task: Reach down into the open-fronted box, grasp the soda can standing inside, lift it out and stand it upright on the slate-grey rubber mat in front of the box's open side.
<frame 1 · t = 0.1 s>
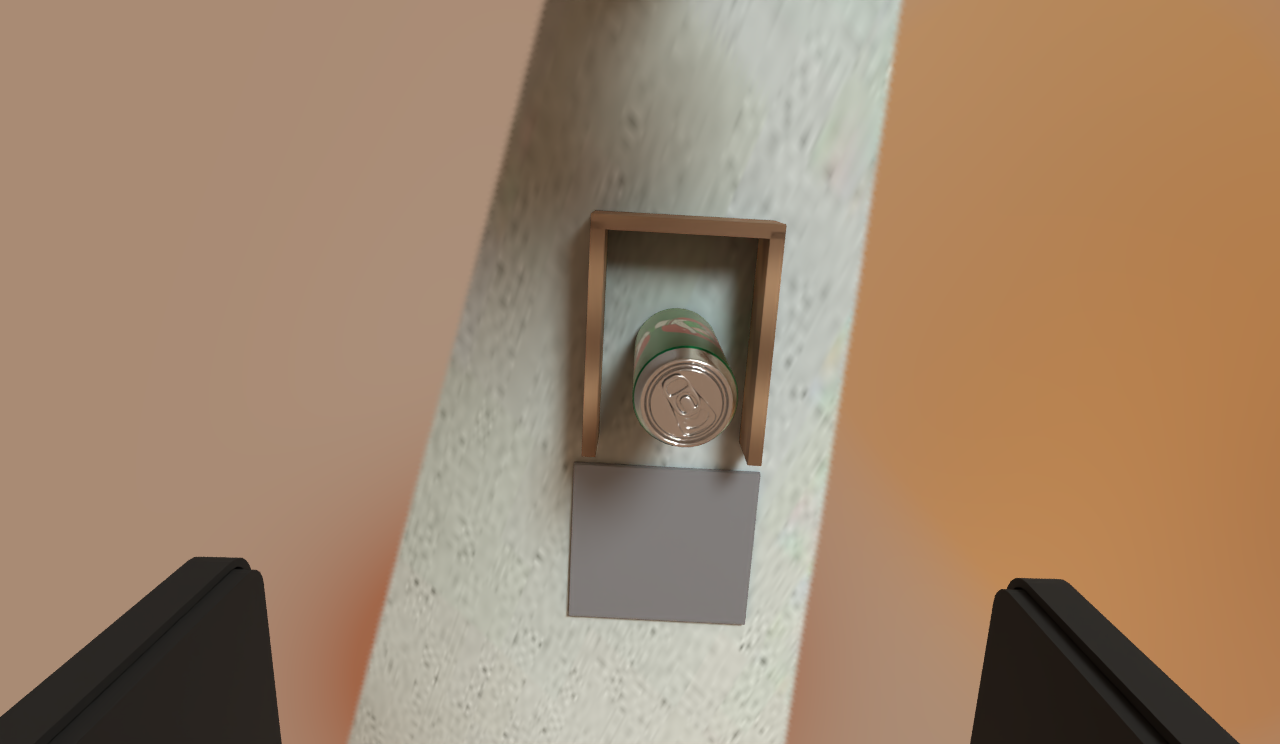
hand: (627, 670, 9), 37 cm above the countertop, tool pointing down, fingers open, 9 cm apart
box: (676, 331, 46), on the countertop
mat: (661, 544, 49), on the countertop
soda can: (675, 346, 46), resting in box
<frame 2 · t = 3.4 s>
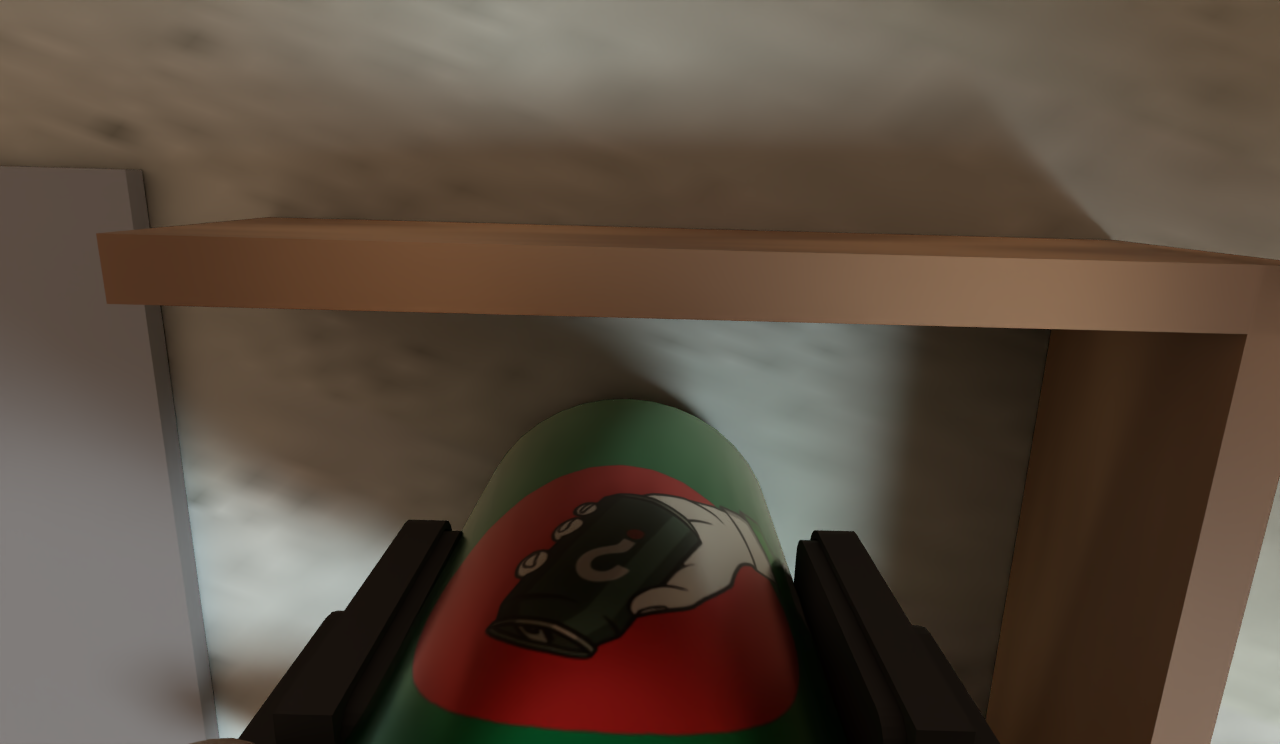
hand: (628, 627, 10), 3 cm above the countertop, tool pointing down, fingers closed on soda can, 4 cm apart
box: (680, 522, 14), on the countertop
soda can: (626, 517, 14), resting in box, touching gripper
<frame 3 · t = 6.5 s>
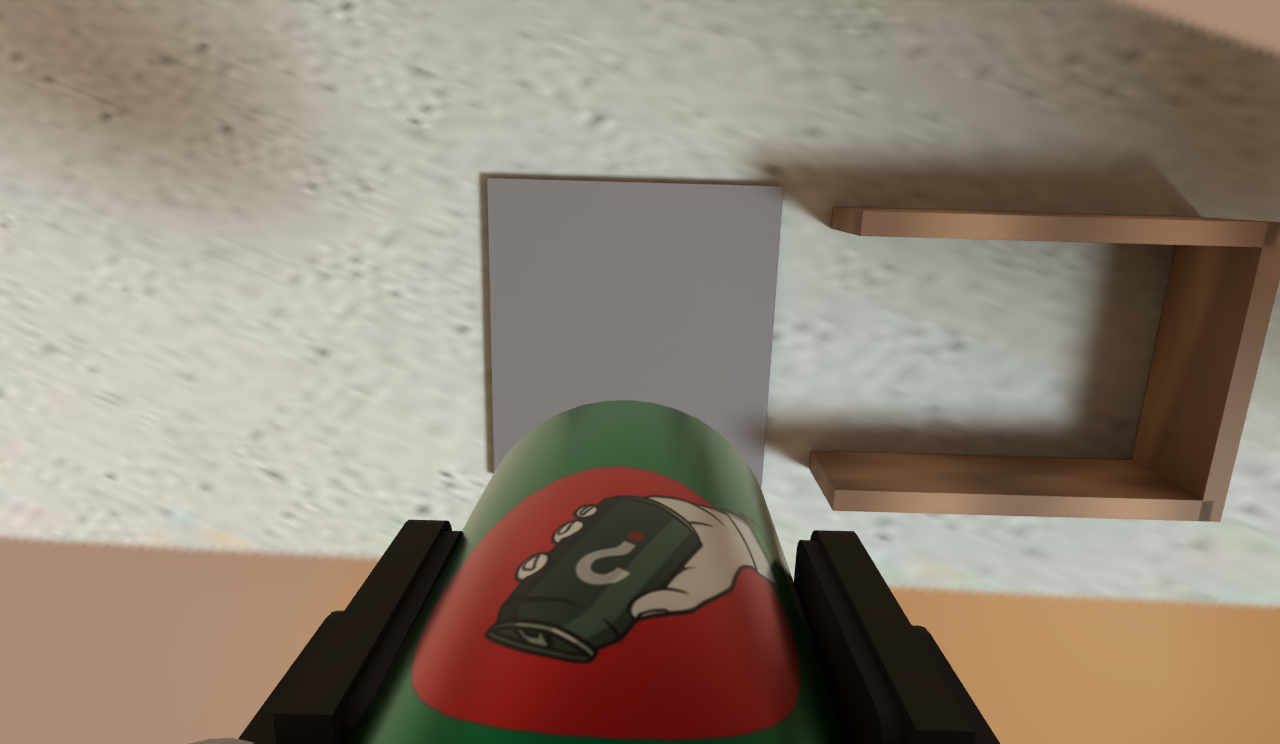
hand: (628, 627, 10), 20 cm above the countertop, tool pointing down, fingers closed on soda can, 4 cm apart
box: (997, 348, 29), on the countertop
mat: (631, 338, 29), on the countertop
soda can: (626, 518, 14), point 16 cm above the countertop, touching gripper
when the fingers open (5 cm above the countertop, at t = 9.6 s): soda can drops 1 cm, resting on mat.
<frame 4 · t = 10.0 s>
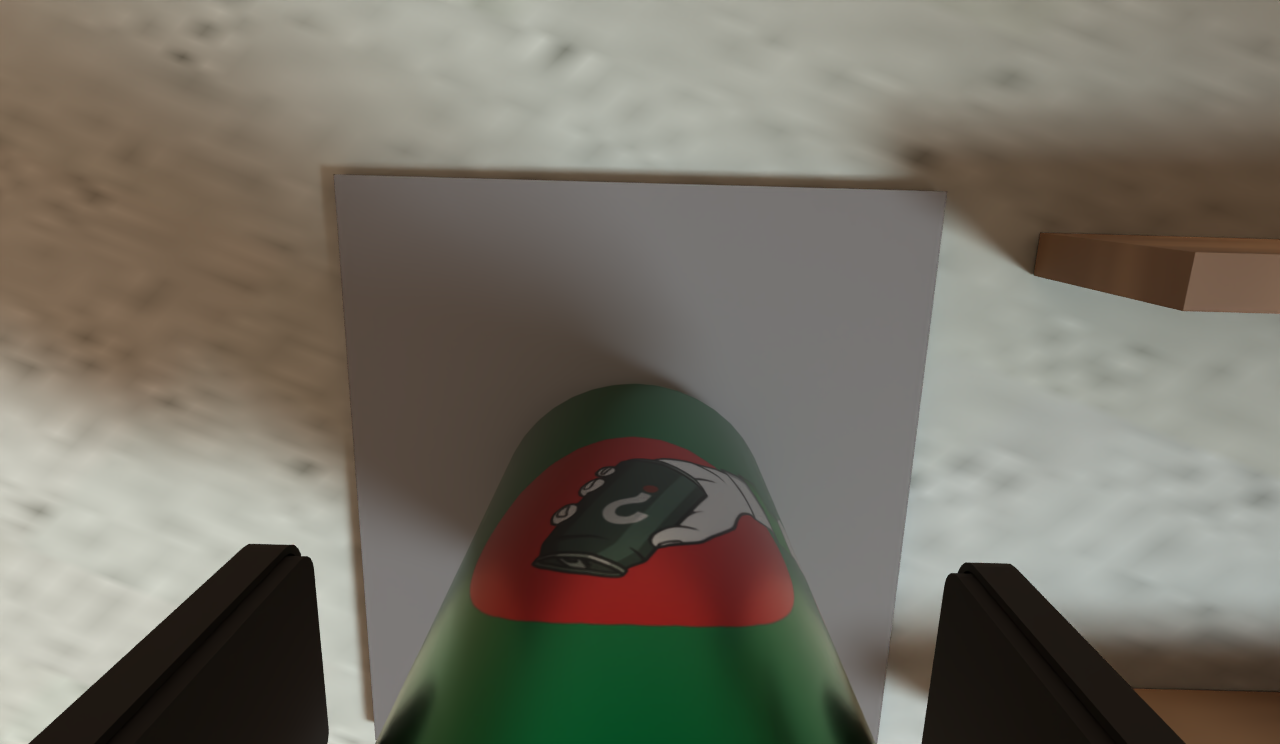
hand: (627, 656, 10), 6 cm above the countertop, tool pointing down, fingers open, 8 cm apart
mat: (632, 485, 15), on the countertop
soda can: (633, 494, 15), resting on mat
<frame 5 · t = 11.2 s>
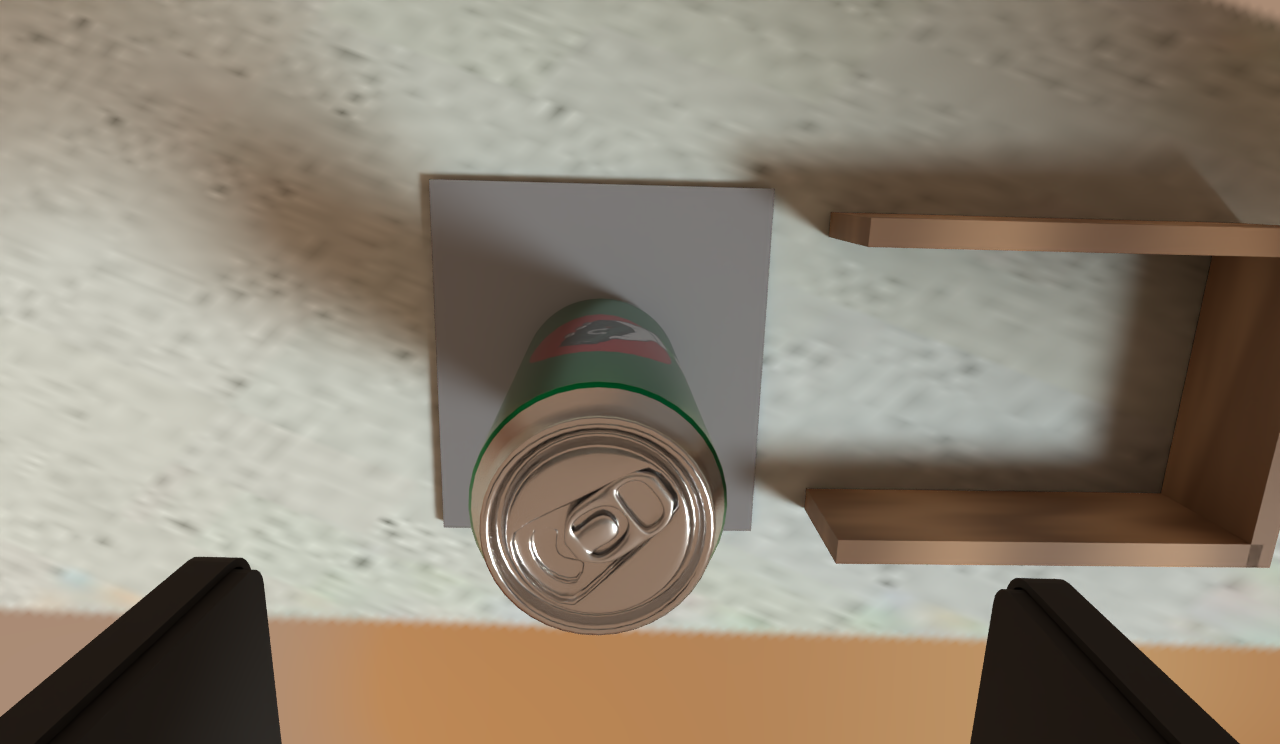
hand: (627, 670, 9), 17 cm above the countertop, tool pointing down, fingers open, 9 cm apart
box: (1014, 371, 26), on the countertop
mat: (600, 364, 25), on the countertop
soda can: (601, 368, 25), resting on mat
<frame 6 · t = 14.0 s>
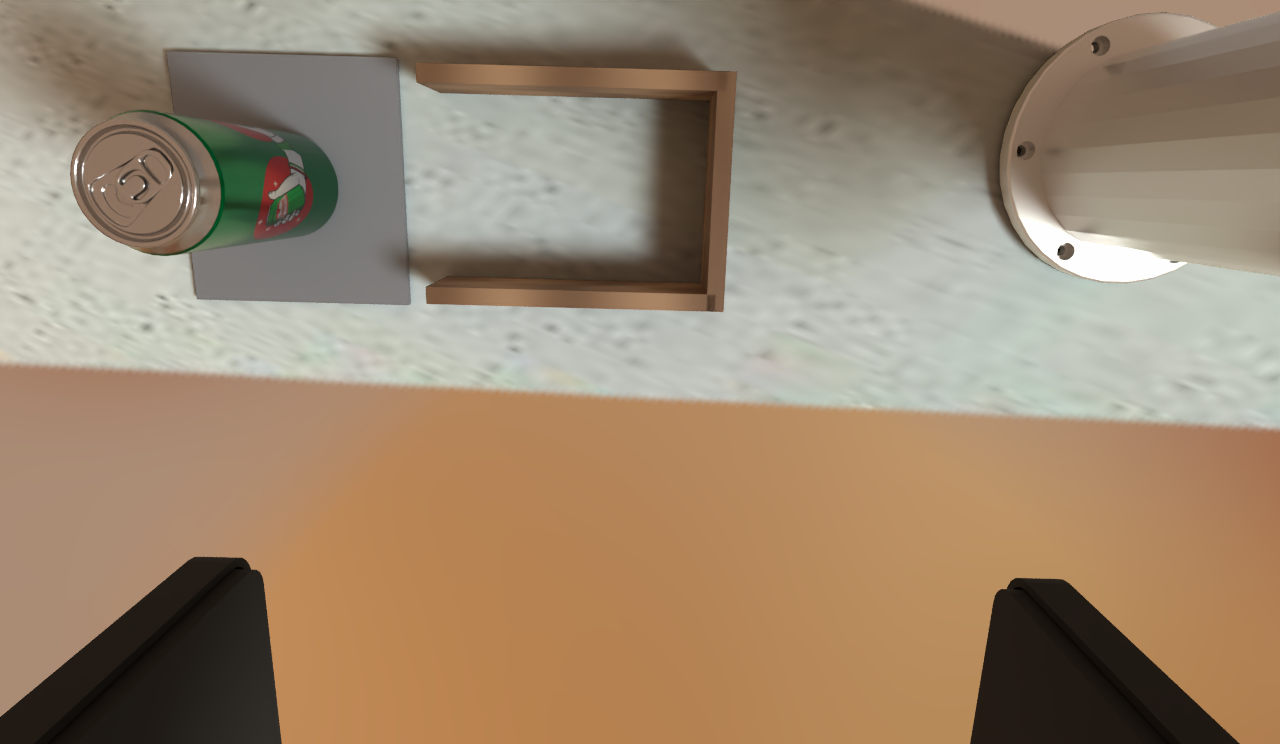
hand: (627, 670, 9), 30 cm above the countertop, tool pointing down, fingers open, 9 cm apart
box: (582, 191, 37), on the countertop
mat: (295, 183, 37), on the countertop
soda can: (294, 185, 37), resting on mat
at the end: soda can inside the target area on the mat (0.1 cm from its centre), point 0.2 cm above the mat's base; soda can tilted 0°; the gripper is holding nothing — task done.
